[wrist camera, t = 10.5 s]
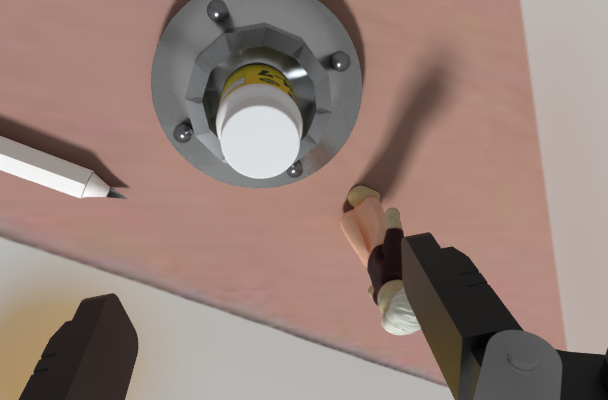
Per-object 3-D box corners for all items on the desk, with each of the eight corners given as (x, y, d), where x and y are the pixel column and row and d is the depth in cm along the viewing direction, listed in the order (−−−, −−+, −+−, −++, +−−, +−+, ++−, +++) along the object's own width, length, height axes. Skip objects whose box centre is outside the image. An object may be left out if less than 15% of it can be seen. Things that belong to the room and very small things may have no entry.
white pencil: (131, 189, 33) (-115, 100, 27) (135, 176, 31) (-126, 79, 26) (119, 217, 31) (-144, 129, 26) (123, 206, 30) (-157, 109, 24)
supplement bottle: (307, 97, 28) (328, 144, 21) (259, 143, 29) (262, 203, 22) (256, 44, 26) (259, 76, 19) (207, 96, 27) (191, 144, 20)
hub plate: (135, 148, 30) (123, 167, 27) (184, -64, 24) (175, -67, 21) (312, 201, 34) (318, 223, 31) (392, 30, 28) (408, 38, 25)
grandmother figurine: (335, 177, 33) (378, 285, 22) (382, 171, 33) (448, 275, 22) (340, 253, 37) (379, 376, 26) (382, 247, 37) (438, 367, 26)
